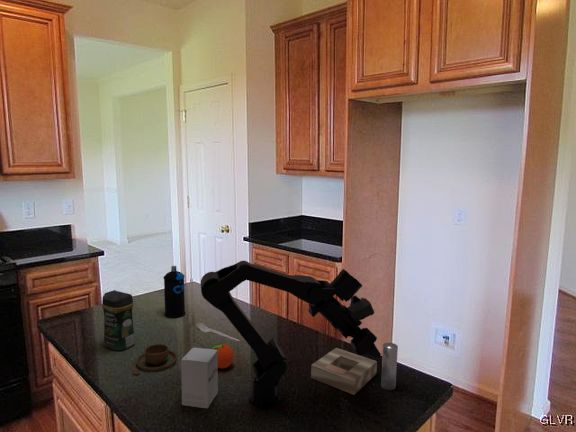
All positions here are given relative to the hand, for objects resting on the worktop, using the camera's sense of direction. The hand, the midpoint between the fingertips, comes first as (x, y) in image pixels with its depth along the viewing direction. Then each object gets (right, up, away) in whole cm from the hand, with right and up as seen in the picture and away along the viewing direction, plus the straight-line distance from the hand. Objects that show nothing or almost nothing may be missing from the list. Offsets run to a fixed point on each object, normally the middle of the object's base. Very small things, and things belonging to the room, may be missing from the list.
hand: (372, 348), depth 114 cm
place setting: (-61, -10, +12) cm, 63 cm away
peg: (+5, -12, +3) cm, 13 cm away
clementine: (-44, -10, +12) cm, 46 cm away
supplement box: (-46, -12, -5) cm, 48 cm away
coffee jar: (-80, -7, +25) cm, 84 cm away
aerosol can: (-69, -3, +53) cm, 87 cm away
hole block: (-7, -11, +8) cm, 15 cm away
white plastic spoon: (-48, -7, +35) cm, 60 cm away
